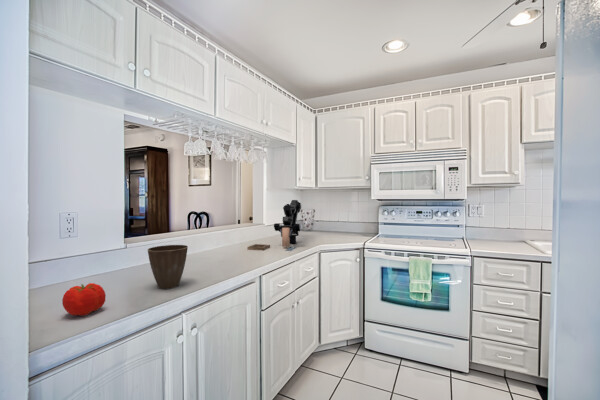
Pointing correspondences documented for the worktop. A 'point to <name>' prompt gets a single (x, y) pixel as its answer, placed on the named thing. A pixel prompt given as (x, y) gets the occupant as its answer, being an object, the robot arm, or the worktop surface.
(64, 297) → the tomato
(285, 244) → the terracotta peg
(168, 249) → the plant pot
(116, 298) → the worktop surface
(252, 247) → the walnut puzzle board
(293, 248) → the slate-blue mat
